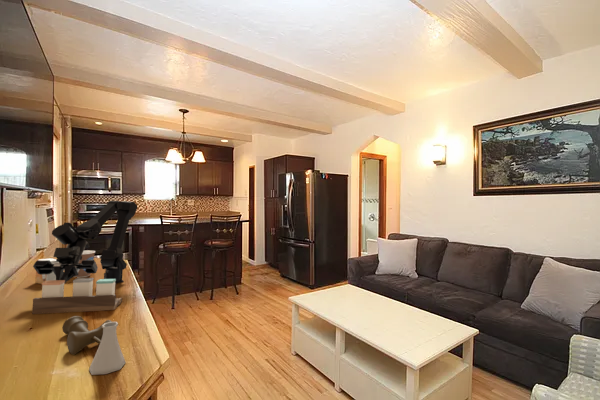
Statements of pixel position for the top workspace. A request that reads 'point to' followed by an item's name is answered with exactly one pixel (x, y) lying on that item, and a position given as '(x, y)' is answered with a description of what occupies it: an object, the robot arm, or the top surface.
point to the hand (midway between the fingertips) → (57, 287)
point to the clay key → (53, 288)
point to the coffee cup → (85, 256)
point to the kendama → (81, 334)
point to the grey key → (83, 286)
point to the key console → (75, 304)
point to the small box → (46, 277)
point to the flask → (108, 352)
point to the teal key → (105, 287)
